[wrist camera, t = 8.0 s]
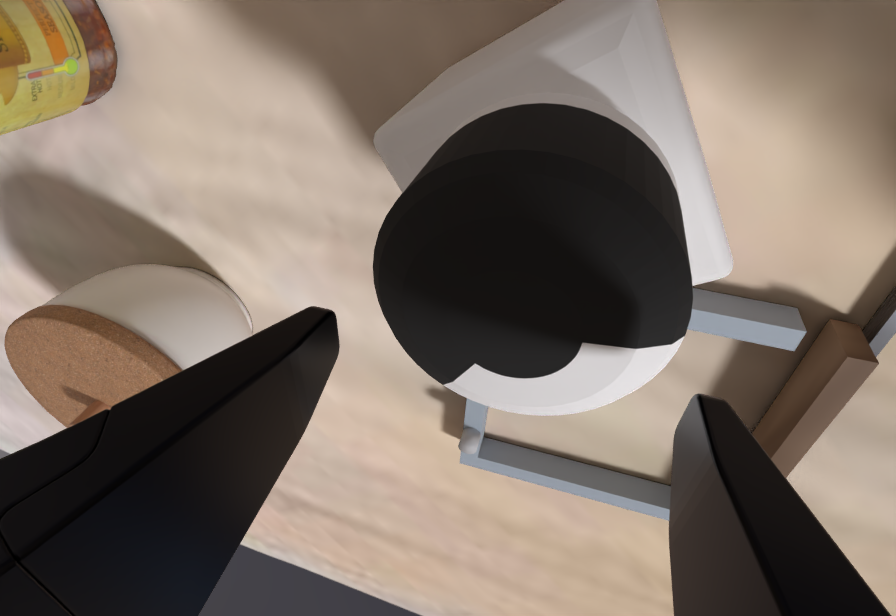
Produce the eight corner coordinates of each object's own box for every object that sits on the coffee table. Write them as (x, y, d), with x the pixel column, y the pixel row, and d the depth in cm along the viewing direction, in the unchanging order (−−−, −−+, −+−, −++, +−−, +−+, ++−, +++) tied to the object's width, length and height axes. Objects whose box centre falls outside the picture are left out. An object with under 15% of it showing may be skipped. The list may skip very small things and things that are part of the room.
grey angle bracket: (797, 308, 20) (814, 349, 18) (679, 499, 29) (682, 541, 27) (488, 248, 23) (475, 279, 21) (466, 443, 31) (455, 477, 29)
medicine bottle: (441, 70, 19) (258, 228, 10) (642, -46, 15) (654, 28, 6) (524, 233, 22) (445, 470, 13) (707, 168, 18) (781, 433, 9)
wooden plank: (858, 324, 20) (879, 363, 18) (719, 515, 28) (724, 553, 27) (829, 319, 20) (847, 356, 18) (700, 510, 29) (704, 547, 27)
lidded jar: (200, 381, 36) (92, 500, 29) (91, 251, 30) (-75, 357, 23) (320, 367, 31) (226, 504, 24) (215, 210, 26) (55, 326, 19)
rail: (1075, 75, 14) (1095, 82, 13) (736, 515, 28) (739, 528, 28) (1053, 73, 14) (1072, 80, 13) (727, 512, 29) (729, 525, 28)
